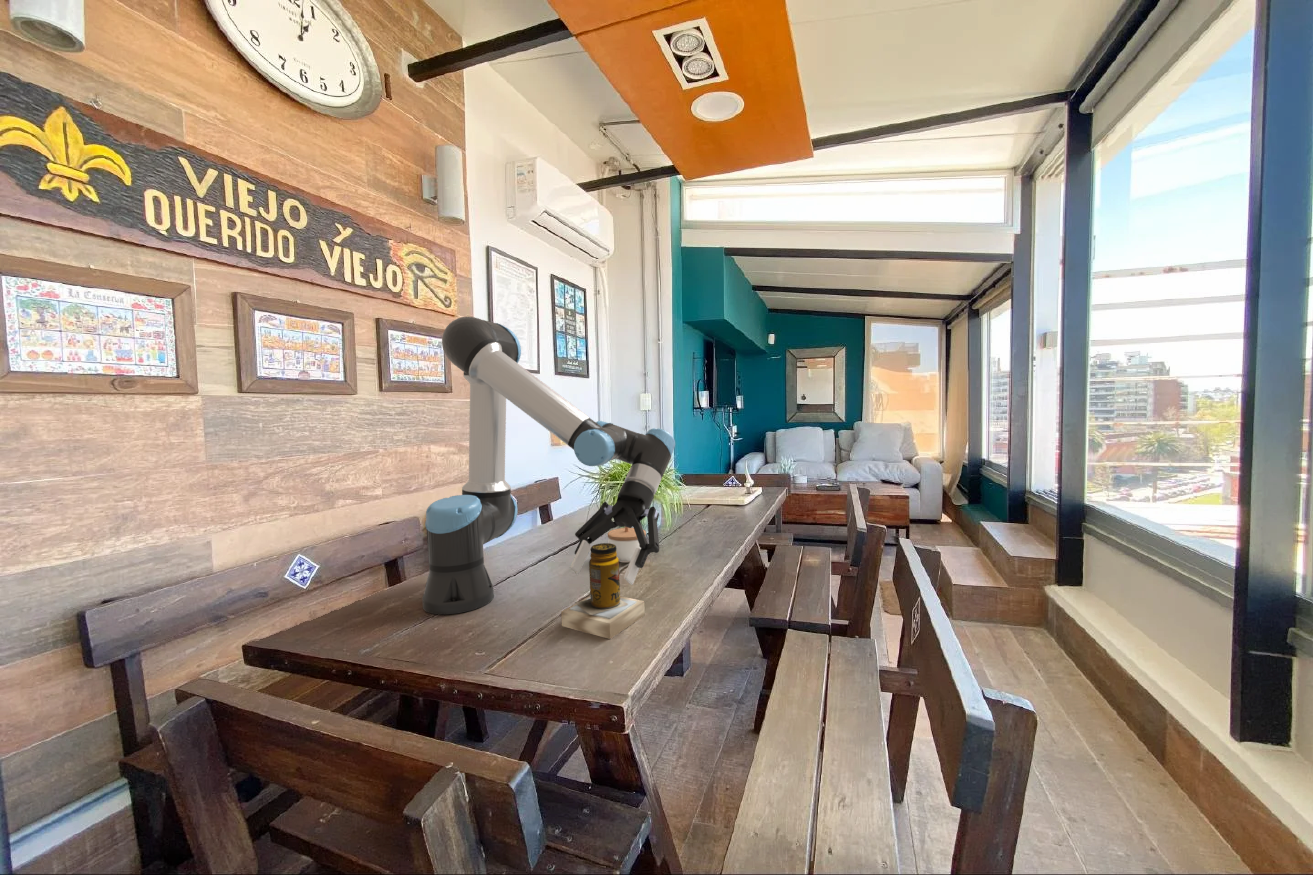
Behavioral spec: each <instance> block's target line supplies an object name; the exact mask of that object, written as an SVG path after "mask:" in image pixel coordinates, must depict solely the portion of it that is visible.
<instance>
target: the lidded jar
mask: <svg viewBox="0 0 1313 875" xmlns="http://www.w3.org/2000/svg"><path fill="white" fill-rule="evenodd" d="M643 531H644V534H645V537H646V535H647V532H646V530H644V529H643ZM607 538H608V539H607V540H608V541H607V543H611V544H614V545H615V546H616V548H617V549H616V553H617V557H618V559H619V563H626V564H627V563H630V561H631V559H632V556H633V554H634V551H635V549H636V548H639V549H640V550H641V548H640V546H639V542H638V539H637V536H636V533H635V530H634V527H631V528H628V527H620V528H613V529H610V530H609V531H608V532H607ZM646 538H647V537H646Z"/></svg>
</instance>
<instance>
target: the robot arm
mask: <svg viewBox="0 0 1313 875" xmlns="http://www.w3.org/2000/svg"><path fill="white" fill-rule="evenodd" d="M441 337H442V338H441V346H442V349H443V353H444V354H445V357H446V358H447V359H448V360H449V362H450V363H452V364H453V365H454V366H456V368H458V370H460V371H462V372H463V374H462V375H463V378H464V379H465V380H467V382H468V384H469V426H468V427H469V430H468V431H469V436H468V438H469V439H468V440H469V441H468V480H467V482H465V484H464V485H462V487H461V494H459V495H452V496H451V495H450V496H449V497H443V498H440V499H438V500H435V501H434V502H432V503H430V504H429V506H428V507H427V508H426V511H425V521H424V522H425V524H424V526H425V530H426V543H427V555H428V572H429V573H428V576H427V580H426V584H425V588H424V591H423V594H422V609H423V610H424V611H425V612H426V613H429V614H433V615H454V614H461V613H465V612H466V613H467V612H469V611H474V610H476V609H480V608H482V607H484V606H486V605H488V604H489V603H491V601H492V600H493V599H494V597H495V593H494V585H493V583H492V581H491V577H490V575H489V573H488V571H487V568H486V566H485V559H484V558H485V557H484V545H485V544H487V543H489V542H490V541H492V540H495V539H498V538H500V537H502V536H503V535H505V534H506V533H507V532H508V531H509V530H510V529H512V527H513V526H514V524H515V523H516V521H517V518H518V511H519V510H518V505H517V502H516V500H515V499H514V498H513V495H512V493H511V489H512V487H511V485H510V484H509V483H508V482H507V481H506V477H505V475H506V474H505V473H506V432H507V431H506V429H507V428H506V424H507V422H506V420H507V400H508V401H509V402H510V403H512V404H513V405H514V406H515V407H516V408H518V409H520V410H521V411H522V412H523V413H525V414H526V415H527V416H529V417H530V418H531V419H533V420H534V421H535V422H536V423H538V424H539V425H541V426H542V427H543V428H544V429H546V430H547V431H549V432H550V433H551V434H552V435H554V436H555V437H556V438H558V439H559V440H560V441H561V442H563V443H564V444H566V445H567V446H568V447H570V448H571V449H572V450H573V452H574V455H575V457H576V458H577V460H578V461H579V462H580V463H581V464H583V465H584V466H587V467H598V466H604V465H606V464H608V463H609V462H610V461H613V460H617V461H620V462H624V463H627V464H629V465H631V466H630V468H629V471H628V472H627V474H626V477H625V479H624V480H623V481H624V482H623V483H622V486H621V488H620V489H619V491H618V494H617V499H616V502H615V503H614V504H613V505H611V504H608V502H607V501H603V502H602V504H601V505H600V507H599V509H598V510H597V511H596V512H595V513H594V514H593V515H592V516H591V517H590V518H589V519H588V520H587V521H586V522H585V523H584V524H583V525H582V526H581V527H580V528H579V529H578V530H577V531H575V533H574V536H575V537H576V538H577V539H578V540H579V542H578V544H577V547H576V549H574V558H572V561H571V564H570V566H569V569H570V570H571V571H572V572H573V573H574V574H576V575H579V574H580V572H581V570H582V568H583V566H584V564H585V561H586V560H587V558H588V556H589V554H590V553H591V550H590V549H591V547H592V545H591V544H593V543H594V542H595V541H596V540H597V539H599V538H600V537H602V536H603V535H604V534H606V533H608V532H610V531H611V530H613V529H617V527H620V528H625V527H628V528H634V530H635V533H636V536H637V539H638V542H639V546H640V548H641V550H640V549H639V548H636V549H635V551H634V554H633V556H632V559H631V561H630V562H628V566H627V568H626V571H625V573H624V575H623V579H624V580H625V581H626V582H627V583H628V584H629V585H632V586H633V585H634V583H635V580H636V578H637V575H638V573H639V570H640V569H643V567H644V566H645V563H646V561H647V558H648V556H649V555H650V554H651V553H655V554H657V553H659V552H660V541H659V540H660V539H659V530H658V528H659V526H658V521H659V520H658V519H659V518H660V517H659V516H660V513H659V512H658V510H657V509H656V507H654V506H651V505H652V503H653V500H654V498H655V495H656V493H657V491H658V488H659V485H660V484H661V481H662V479H663V476H664V474H665V472H666V470H667V468H668V465H669V463H670V461H671V459H672V456H673V453H674V450H675V447H676V441H675V438H674V437H673V435H672V433H670V432H668V431H667V430H665V429H662V428H659V427H658V428H655V427H654V428H650V429H649V430H648V431H647V432H646V433H645V434H643V433H639V432H636V431H634V430H630V429H628V428H624V427H622V426H619V425H615V424H614V423H612V422H607V421H602V420H598V421H595V420H593V419H592V418H591V417H589V416H588V415H587V414H585V412H583V411H582V410H580V409H579V408H577V407H576V406H575V405H574V404H572V403H571V401H570V402H569V401H568V400H567V399H565V398H564V397H563V396H562V395H560V394H559V393H558V392H557V391H555V390H554V389H552V388H551V387H550V386H549V385H547V384H546V383H544V382H543V381H542V380H541V379H540V378H538V377H537V376H535V375H534V374H532V373H531V372H530V371H528V369H526V368H525V367H524V366H522V365H520V364H519V362H520V359H521V356H522V355H521V354H522V348H521V343H520V341H519V338H518V337H517V335H516V334H515V333H514V331H512V330H511V329H510V328H508V327H506V326H505V325H502V324H501V323H498V322H493V321H488V320H484V319H481V318H478V317H474V316H461V317H457V318H456V319H454V320H452V321H451V322H449V323H448V324H447V326H446V328H445V329H444V331H443V333H442V336H441ZM645 518H646V519H647V532H648V533H647V534H648V535H647V536H648V539H647V537H645V534H644V531H643V530H644V527H643V524H642V521H643V520H644V519H645ZM612 519H613V520H612Z"/></svg>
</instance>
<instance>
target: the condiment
mask: <svg viewBox="0 0 1313 875" xmlns="http://www.w3.org/2000/svg"><path fill="white" fill-rule="evenodd" d="M616 549H617V548H616V546H615V545H614V544H611V543H609V542H604V543H602V542H601V543H596V544H594V545H591V549H590V559H589V561H588V566H589V567H588V568H589V569H588V570H589V573H588V574H589V591H590V592H589V593H590V595H589V596H590V598H591V599H588V600H585V601H582V600H579V601H576V602H574V604H577V605H578V606H579V607H580V608H581V609H583V610H584V611H586V612H587V613H589V614H590V615H593V614H596V613H599V612H604V611H607V610H612V609H615V608H619V607H622V606H626V605H628V604H627V603H626V602H624V601H622V600H620V596H621V588H620V587H621V584H620V562H619V559H618V557H617V553H616Z"/></svg>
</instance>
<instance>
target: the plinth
mask: <svg viewBox="0 0 1313 875" xmlns="http://www.w3.org/2000/svg"><path fill="white" fill-rule="evenodd" d="M588 599H591V598H590V595H589V596H587V597H585V598H584V599H581V601H585V600H588ZM620 600H622V601H624V602H626V603H627V604H628V605H626V606H622V607H619V608H615V609H612V610H607V611H604V612H599V613H596V614H593V615H590V614H589V613H587V612H586V611H584V610H583V609H581V608H580V607H579V606H578V605H577V604H575V603H574V604H573V605H571V606H569V607H567V608H564V610H561V611H560V612H561V613H560V614H561V627H562V628H568V629H572V630H575V631H578V632H582V633H586V634H589V635H590V634H591V635H593V636H598V637H601V638H605V639H609V640H611V639H613V638H614V637H615V636H617V635H619V634H620V633H621V632H623V631H624V630H626V629H627V628H629V627H630V626H631V625H634V624H635V623H636V622H638V621H639V620H641V619H642V618H644V616H646V608H645V606H646V605H645V601H644V600H641V599H640V600H639V599H635V598H630V597H627V596H622V595H620Z"/></svg>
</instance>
